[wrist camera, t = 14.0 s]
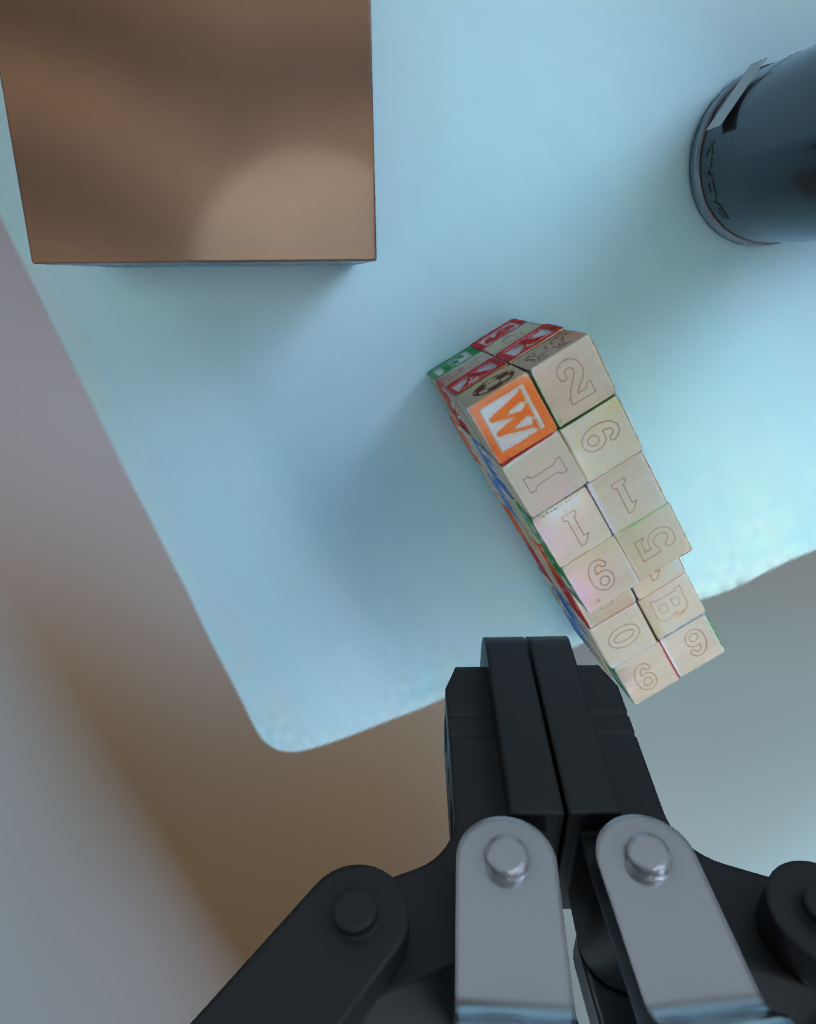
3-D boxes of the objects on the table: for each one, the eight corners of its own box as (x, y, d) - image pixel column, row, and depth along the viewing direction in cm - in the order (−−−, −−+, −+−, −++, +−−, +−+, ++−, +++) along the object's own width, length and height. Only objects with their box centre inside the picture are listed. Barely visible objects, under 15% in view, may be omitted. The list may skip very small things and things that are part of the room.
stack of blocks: (651, 586, 49) (759, 682, 37) (574, 632, 49) (657, 742, 38) (512, 315, 42) (591, 331, 30) (422, 371, 42) (466, 408, 30)
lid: (-41, -209, 23) (-53, -226, 22) (364, -180, 24) (366, -194, 24) (39, 264, 27) (31, 263, 27) (374, 261, 29) (376, 260, 28)
